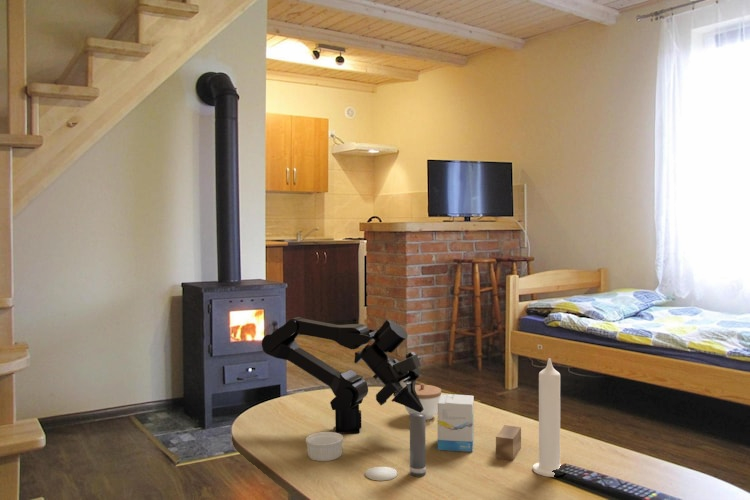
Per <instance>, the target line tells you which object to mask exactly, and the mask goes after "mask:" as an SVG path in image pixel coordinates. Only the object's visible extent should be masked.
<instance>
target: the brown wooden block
mask: <svg viewBox="0 0 750 500" xmlns="http://www.w3.org/2000/svg"><path fill="white" fill-rule="evenodd" d="M521 448H522V427H521V426H515V425H504V426H502V428H501V429H500V431H498V433H497V435H495V459H502V460H507V461H514V460H515V458H516V457H517V455H518V453H519V452H520V450H521Z"/></svg>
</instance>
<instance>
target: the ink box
mask: <svg viewBox="0 0 750 500" xmlns="http://www.w3.org/2000/svg"><path fill="white" fill-rule="evenodd" d="M474 397H475V396H474V395H467V394H455V393H454V394H453V393H448V394H443V393H441V396H440V398H439V401H438V412H437V450H439V451H448V452H449V451H451V452H452V451H453V452H469V453H472V452H473V449H474V448H473V446H474V441H475V440H474V438H475V435H474V434H475V432H474V431H475V429H474V427H475V423H474V422H475V421H474V420H475V418H474V417H475V414H474V413H475V410H474V409H475V408H474V406H475V405H474Z"/></svg>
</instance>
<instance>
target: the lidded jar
mask: <svg viewBox="0 0 750 500" xmlns="http://www.w3.org/2000/svg"><path fill="white" fill-rule="evenodd" d="M415 391H416V393H417V396H418V398H419V400H420V402H421V404H422V406H423V409H424V410H423V411H422V412H418V411H415V410H413V409H411V408H409V407H407V406H404V407H405V409H406V410H405V411H407V413H408V414H409V415H410V414H411V413H423V414H425V421H428V420H431V419H433V418H434V416H435V415H437V414H438V401H439V398H440V396H441V394H442V389H441V387H438V386H435V385H430V384H429V385H427V384H425V383H420V384H415Z"/></svg>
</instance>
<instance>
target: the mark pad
mask: <svg viewBox="0 0 750 500" xmlns="http://www.w3.org/2000/svg"><path fill="white" fill-rule="evenodd" d="M364 472H365V474H364V475H365V477H366V478H367V479H370V480H372V481H378V482H380V481H381V482H383V481H391V480H393V479H395V478H396V477H398V471H397V470H396V469H395V468H393V467H390V466H374V467H371V468H369V469H366V471H364Z"/></svg>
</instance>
